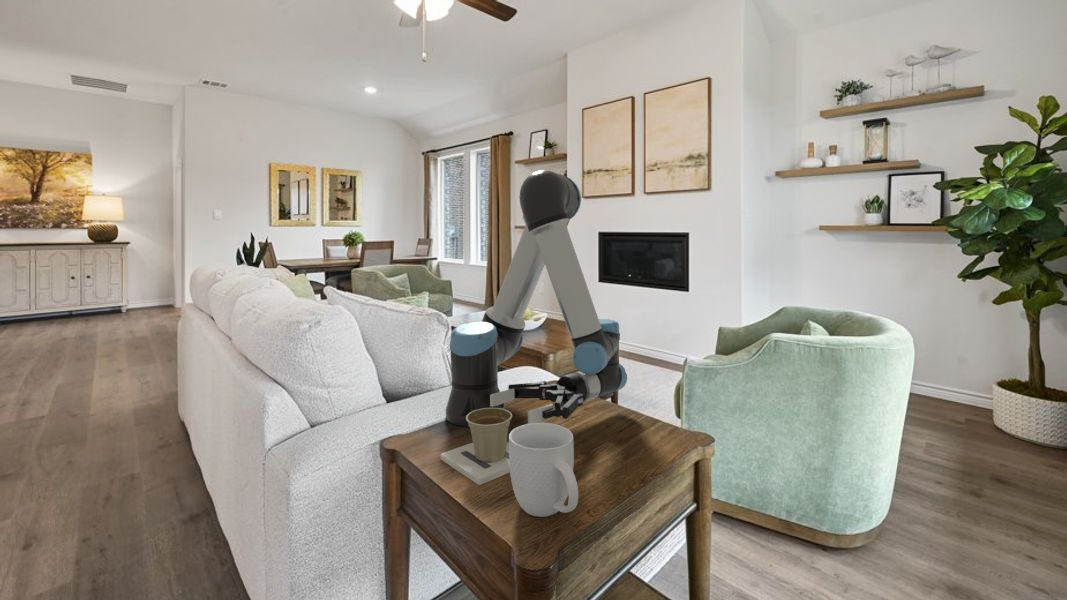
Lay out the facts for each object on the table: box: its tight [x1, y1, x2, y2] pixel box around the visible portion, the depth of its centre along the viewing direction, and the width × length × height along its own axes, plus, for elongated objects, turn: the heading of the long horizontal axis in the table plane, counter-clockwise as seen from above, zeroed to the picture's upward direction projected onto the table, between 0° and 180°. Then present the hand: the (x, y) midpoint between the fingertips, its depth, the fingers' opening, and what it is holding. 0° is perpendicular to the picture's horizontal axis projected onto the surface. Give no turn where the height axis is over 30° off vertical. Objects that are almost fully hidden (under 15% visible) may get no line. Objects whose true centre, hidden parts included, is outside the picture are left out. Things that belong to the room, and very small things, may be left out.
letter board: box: [440, 441, 510, 486], centre depth 101 cm, size 14×14×1 cm
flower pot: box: [466, 408, 513, 462], centre depth 100 cm, size 9×9×9 cm
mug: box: [508, 422, 579, 518], centre depth 82 cm, size 15×11×13 cm
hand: (509, 408), depth 107 cm, fingers open, 13 cm apart
